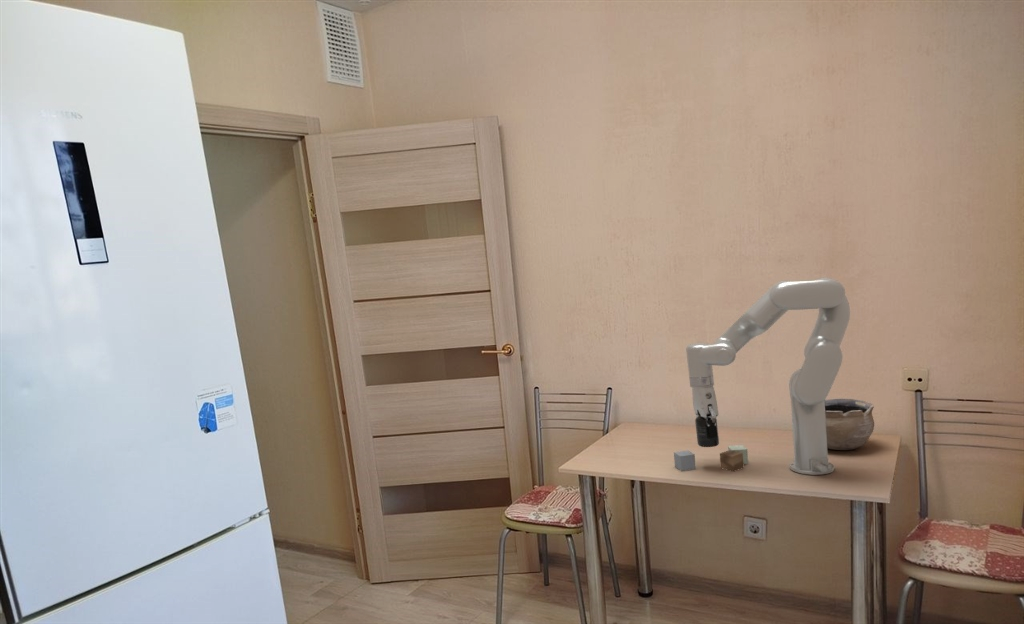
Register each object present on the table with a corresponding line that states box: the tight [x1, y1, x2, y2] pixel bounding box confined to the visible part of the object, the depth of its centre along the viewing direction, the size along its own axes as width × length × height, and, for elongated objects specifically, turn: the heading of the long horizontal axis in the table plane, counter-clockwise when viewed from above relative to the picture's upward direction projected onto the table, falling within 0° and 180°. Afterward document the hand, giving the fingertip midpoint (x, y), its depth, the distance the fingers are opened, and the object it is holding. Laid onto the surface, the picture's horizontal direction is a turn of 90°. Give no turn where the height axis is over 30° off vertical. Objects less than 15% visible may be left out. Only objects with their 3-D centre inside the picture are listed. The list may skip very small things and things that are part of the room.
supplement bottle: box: [694, 410, 720, 448], centre depth 209 cm, size 7×7×12 cm
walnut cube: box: [719, 450, 745, 472], centre depth 207 cm, size 5×5×5 cm
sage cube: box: [727, 444, 749, 465], centre depth 213 cm, size 5×5×5 cm
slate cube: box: [673, 449, 697, 472], centre depth 212 cm, size 5×5×5 cm
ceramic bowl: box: [824, 398, 875, 451], centre depth 219 cm, size 22×22×15 cm
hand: (707, 434), depth 209 cm, fingers closed on supplement bottle, 6 cm apart
